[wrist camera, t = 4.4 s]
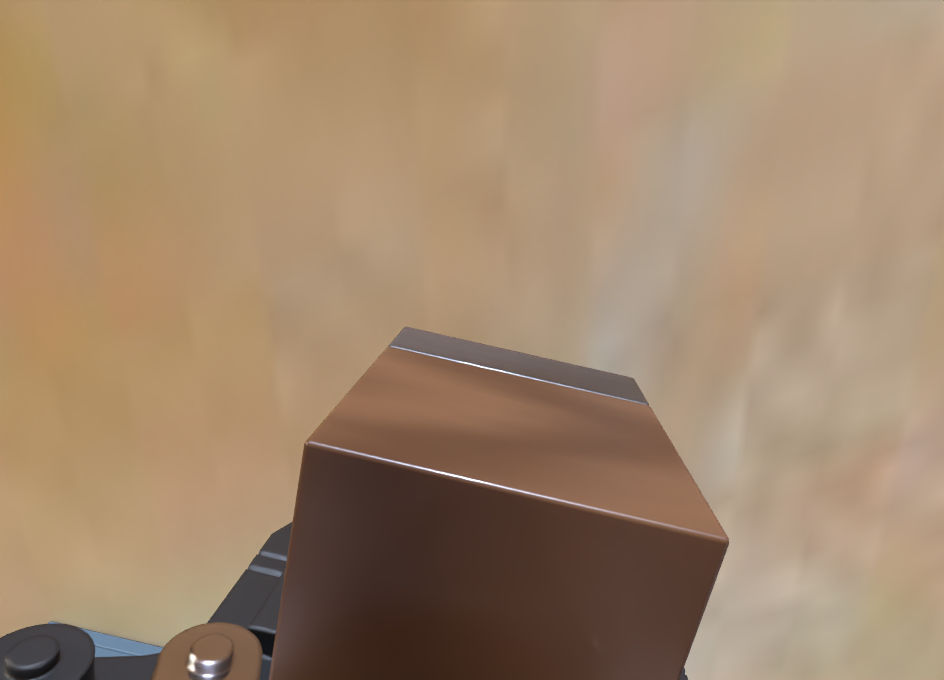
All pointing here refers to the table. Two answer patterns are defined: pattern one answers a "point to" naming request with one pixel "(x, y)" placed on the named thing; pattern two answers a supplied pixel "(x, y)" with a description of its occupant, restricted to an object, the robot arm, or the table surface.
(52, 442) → the table surface
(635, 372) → the table surface
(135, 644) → the tray
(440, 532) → the brown long rectangular block
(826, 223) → the table surface
